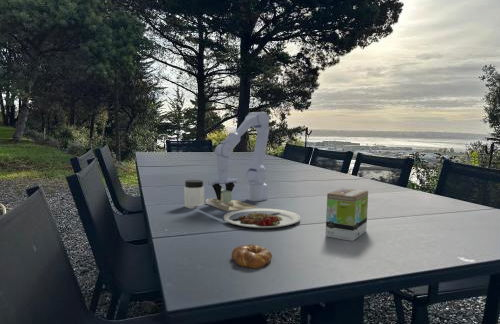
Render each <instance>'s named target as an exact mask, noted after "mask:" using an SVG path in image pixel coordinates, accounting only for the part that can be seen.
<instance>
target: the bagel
mask: <svg viewBox="0 0 500 324" xmlns="http://www.w3.org/2000/svg"><path fill="white" fill-rule="evenodd" d="M272 258H273V255H272V253H271V251H270V250H268V249H267V248H265V247H263V246H259V245H257V244H254V243H252V244H247V245H245V244H242V245H240V246H236V247H235V248H234V249H233V250H232V252H231V259H232V261H234V262H235V263H236V264H237V265H238V266H240V267H244V268H249V269H260V268H262V267H264V266H266V264H267V265H269V264H270V262H271V260H272Z"/></svg>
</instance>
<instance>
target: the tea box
mask: <svg viewBox="0 0 500 324" xmlns="http://www.w3.org/2000/svg"><path fill="white" fill-rule="evenodd" d="M326 194H327V195H326V214H325V215H326V216H325V217H326V218H325V237H327V238H332V239H338V240H344V241H350V242H351V241H352V242H354V241H355V240H356V239H358V238H359V237H360V236H362V235H363V234H364V233H366V232H367V228H368V227H367V223H368V202H369V200H368V199H369V191H368V190H364V189H363V190H361V189H353V188H343V187H342V188H339V189H336V190H334V191H331V192H327V193H326Z"/></svg>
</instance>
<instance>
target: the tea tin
mask: <svg viewBox="0 0 500 324" xmlns="http://www.w3.org/2000/svg"><path fill="white" fill-rule="evenodd" d="M232 194H233V193H232V192H231V191H228V190H226V188H223V189H222V188H221V200H217V202H219V203H221V202H230V201H231V200H232V199H233V198H232V196H233V195H232Z"/></svg>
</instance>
